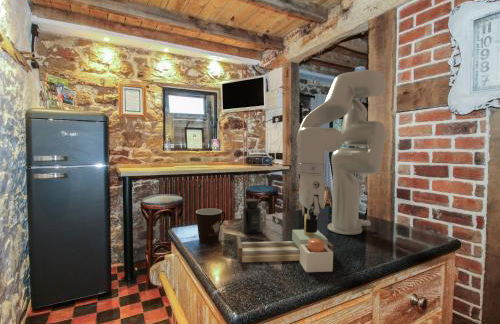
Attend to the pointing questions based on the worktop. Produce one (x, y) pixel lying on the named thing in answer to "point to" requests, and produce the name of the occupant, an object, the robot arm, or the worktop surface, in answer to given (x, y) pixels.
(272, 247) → the track
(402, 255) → the worktop surface
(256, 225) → the supplement bottle
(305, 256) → the white open box
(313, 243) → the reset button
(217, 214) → the coffee mug
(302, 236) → the block
